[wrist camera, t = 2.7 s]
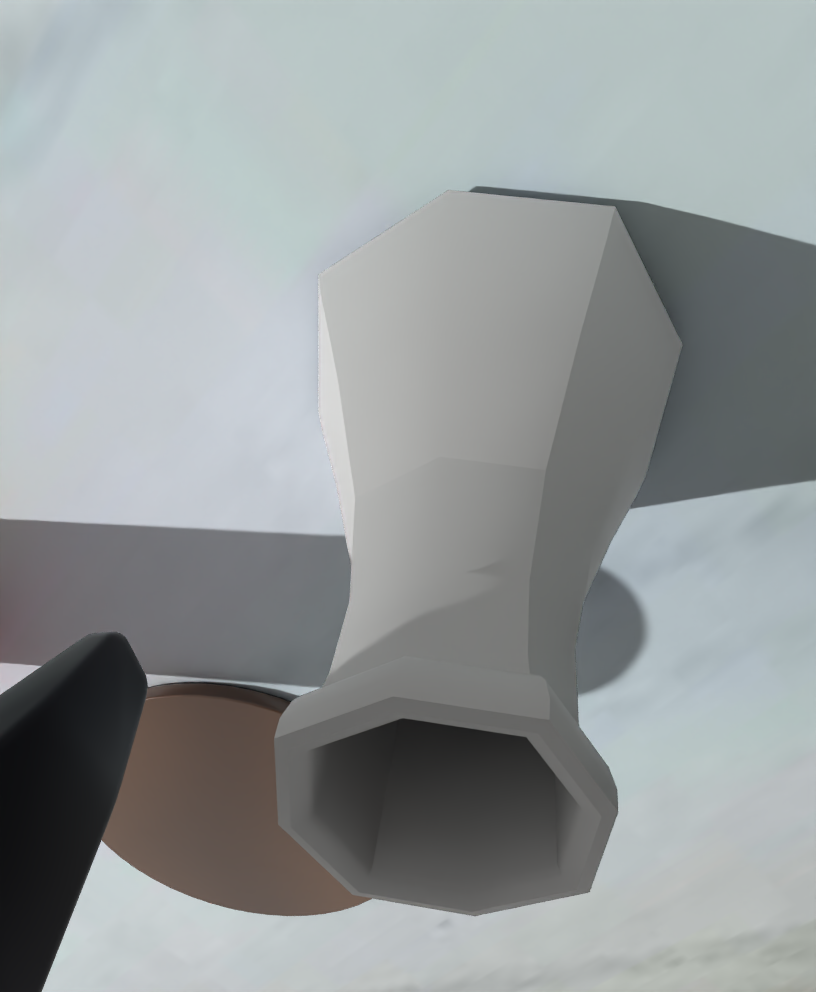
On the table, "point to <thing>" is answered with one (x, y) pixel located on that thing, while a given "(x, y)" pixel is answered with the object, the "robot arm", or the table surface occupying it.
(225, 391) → the table surface
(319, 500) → the table surface
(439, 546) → the flask
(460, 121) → the table surface
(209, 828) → the coaster
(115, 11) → the table surface
